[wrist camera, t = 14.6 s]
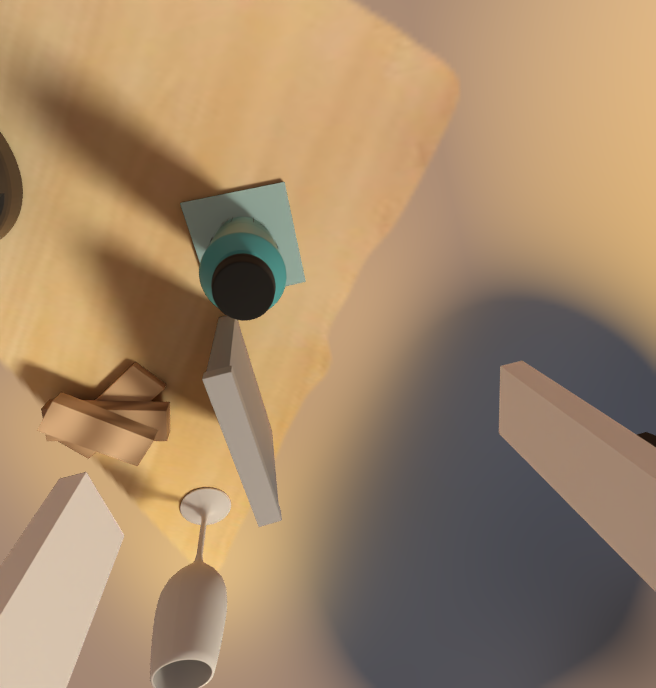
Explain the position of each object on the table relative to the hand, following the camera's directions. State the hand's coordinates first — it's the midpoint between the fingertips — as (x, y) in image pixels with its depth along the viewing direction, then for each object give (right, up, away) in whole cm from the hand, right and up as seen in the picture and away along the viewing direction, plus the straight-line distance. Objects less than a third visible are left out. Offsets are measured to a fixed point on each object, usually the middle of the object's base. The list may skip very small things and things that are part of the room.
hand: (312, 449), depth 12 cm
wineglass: (-18, -21, +43) cm, 51 cm away
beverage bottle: (-9, +14, +29) cm, 33 cm away
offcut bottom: (-27, -4, +35) cm, 44 cm away
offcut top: (-26, -6, +31) cm, 41 cm away
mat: (-9, +15, +29) cm, 34 cm away
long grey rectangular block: (-10, -1, +36) cm, 37 cm away
